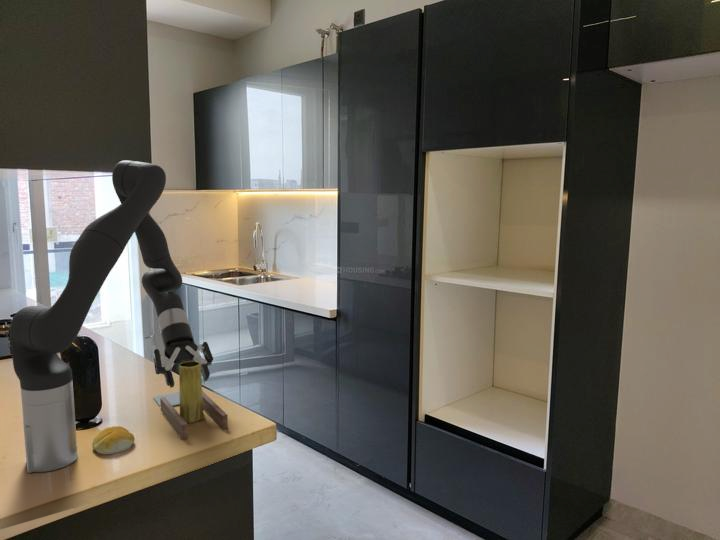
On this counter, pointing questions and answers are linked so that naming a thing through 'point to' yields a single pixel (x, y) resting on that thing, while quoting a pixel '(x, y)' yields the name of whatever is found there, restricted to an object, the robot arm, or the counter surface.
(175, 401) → the pad
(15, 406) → the counter surface
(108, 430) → the bread roll
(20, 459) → the counter surface
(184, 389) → the vase
